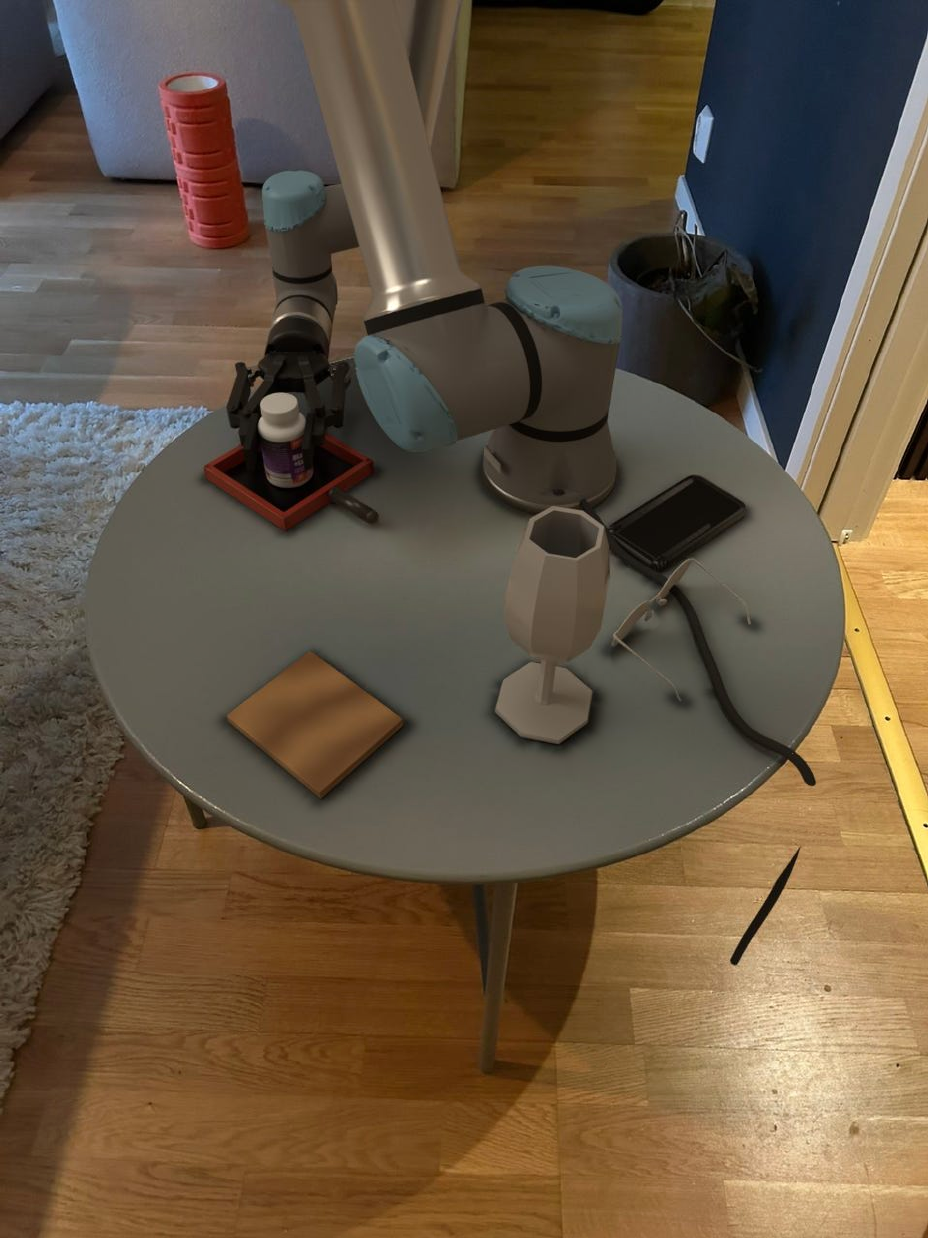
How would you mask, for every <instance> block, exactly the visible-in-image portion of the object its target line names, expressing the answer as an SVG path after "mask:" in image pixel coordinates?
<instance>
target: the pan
mask: <svg viewBox="0 0 928 1238" xmlns="http://www.w3.org/2000/svg"><path fill="white" fill-rule="evenodd" d="M243 447H244V446H241V444H238V445H237V446H235V447H234V448H231V449H230V450H229V451H227V452H225V453H223V454H222V455H220V456H219V457H216V458H215V459H213V460H211V461H210V462H207V463H206V464H204V465H203V466H202V468H203V473H204V476H205V479H206V480H208V481H209V482H210V483H212V484H214V485H215V486H216V487H218V488H219V489H221V490H223V491H224V492H225V493H226V494H228V495H230V496H232V497H233V498H234V499H236V500H237V501H239V502H241V504H243V505H245V506H246V507H248V508H249V509H251V510H252V511H254V512H256V513H257V514H259V516H261V517H263V518H265V519H266V520H268V521H270V522H271V523H272V524H273V525H275V526H277V527H278V528H280V529H281V530H283V531H284V532H287V531H288V530H290V529H291V528H293V527H294V526H296V525H297V524H299V523H300V522H302V521H303V520H305V519H306V518H308V517H310V516H311V515H312V514H313V513H315V512H317V511H318V510H320V509H321V508H323V507H324V506H326V505H328V504H329V503H330V502H333V503H335V504H336V505H338V506H339V507H341V508H343V509H344V510H346V511H348V512H349V513H350V514H353V515H354V516H355V517H357V518H359V519H360V520H362V521H364V522H365V523H367V524H369V525H374V524H376V523H377V522H378V521H379V519H380V515H379V512H378V511H377V510H376V509H374V508H373V507H371V506H369V505H368V504H365V503H364V502H363V501H361V500H359V499H358V498H356V497H354V496H353V495H352V494H350V493H348V492H347V491H348V490H350V489H351V488H353V487H355V486H356V485H357V484H359V483H360V482H361V481H363V480H366V478H368V477H370V476H371V475H373V474H374V473H375V465H374V463H375V462H374V459H372V458H370V457H369V456H367V455H365V454H364V453H362V452H361V451H358V450H357V449H355V448H353V447H351V446H350V445H348V444H346V443H345V442H342V441H341V440H339V439H337V438H336V437H334V436H332V435H331V434H329V433H328V432H326V436H325V443H324V444H323V445H322V446H315V449H314V456H313V463H312V464H313V475H312V477H311V479H310V480H309V481H308V482H306V483H305V484H303V485H301V486H298V487H293V488H282V487H277V486H275V485H273V484H272V483H270V482H269V480H268V479H267V476H266V472H265V466H264V461H263V455H262V450H261V444H260V445H259V450H258V455H257V459H256V464H255V469H254V470H247V467H246V462H245V457H244V452H243Z"/></svg>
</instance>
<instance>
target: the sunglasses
mask: <svg viewBox="0 0 928 1238" xmlns="http://www.w3.org/2000/svg"><path fill="white" fill-rule="evenodd" d="M692 562H694V563H695V564H696V565H698V566H699V567H700V568H702V570H704V571H705V572H706V573H708V574H709V575H710V576H711V577H712V578H713V579H715V580H716V581H717V582H719V583H720V584H721V585H722V586H723V587H724V588H725V589H727V590H728V591H729V592H731V593H732V595H733V596H734V597H736V598H737V599H738V600H739V601H740V602H741V603H742V604H743V606H744V607H745V611H746V617H747V624H748V625H752V622H751V617H750V616H751V615H750V612H749V608H748V605H747V603H746V602H745V601H744V599H742V598H741V597H740V596H739V595H737V593H735V592H734V591H732V590H731V589H730V588H729V587H728V586H726V585H725V584H724V583H723V582H722V581H721V580H720V579H719V578H717V577H716V576H715V575H714V574H713V573H712V572H710V570H709V569H707V568H706V567H705V566H704V565H702V564H701V562H699V561H698V560H697V559H695V558H693V557H691V558H688V559H685V560H684V561H683V562H682V563H681V564H680V565H679V566H678V567H677V568H676V569H675V570H674V571H673V572H672V573H671V575H670V576H669V577H668V578H667V579H668V580H667V582H666V583H665V585H664V587H663V586H662V588H661V590H659V592H658V593H657V594H656V595H655V596H654V597H652V599H650V600H644V601H642V602H641V603H640V604H638V605H637V606H636V607H635V608H634V609H632V610H631V612H630V613H629V615H627V617H626V618H625V619H624V621H623V622H622V624H621V625H620V626H619V628H618V629H617V630H616V631H615V632H614V633H613V635H612V637H613V639H612V641H611V647H612V648H613V647H615V646H617V645H618V644H620V645H621V646H623V647H624V648H626V649H627V650H628V651H629V652H631V653H632V654H633V655H634V656H635V657H637V658H638V659H639V660H641V661H642V662H643V663H645V664H646V665H648V667H650V668H651V669H652V670H653V671H655V672H656V673H657V674H658V675H659V676H660V677H661V678H662V679H663V680H665V681H666V682H668V683H669V684H670V686H672V688H673V689H674V692H675V695H676V697H677V699H678V701H680V702H682V699H681V698H680V697H681V696H679V692H678V690H677V688H676V686H675V685H674V684H673V683H672V681H670V679H668V678H667V677H666V676H664V675H663V674H662V673H661V672H660V671H658V670H656V669H655V668H654V667H653V666H652V665H651V664H650V663H648V662H647V661H646V660H644V658H642V657H641V656H640V655H639V654H637V653H636V652H635V651H634V650H633V649H632V648H630V646H628V645H627V644H626V643H625V642H624V641H622V640H623V639H624V638H625V637H626V636H627V635H628V634H629V632H631V630H632V629H633V628H634V627H635V626H636V624H637V623H638V622H639V621H640V619H641V618H642V617H643V616H644V615H645V614H646V615H645V617H644V619H643V620H644V622H649V621H650V619H651V618H652V617H653V615H654V609H652V608H651V609H650V610H649V609H648V608H649V607H650V605H651V603H652V602H653V601H654V600H655V603H657V604H658V605H659V606H665V605H666V604H667V602H668V601H667V599H665V598H667V596H668V595H669V594H671V593H670V592H669V590H670V589H671V587H672V586H673V585H676V586H677V585H678V583H679V582H681V579H682V578H683V577H684V575H685V573H686V572H687V570H688V569H689V567H690V565H691V564H692Z"/></svg>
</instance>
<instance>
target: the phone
mask: <svg viewBox="0 0 928 1238" xmlns="http://www.w3.org/2000/svg"><path fill="white" fill-rule="evenodd" d="M745 510H746V503H745V502H744V501H743V500H741V499H739V498H738V497H736V496H735V495H733V494H732V493H729V491H726V490H725V489H724V488H721V487H720V486H718V485H717V484H715V483H714V482H712V481H710V480H708V478H705V477H703V476H702V475H699V474H690V475H688V476H686V477H685V478H683V479H681V480H680V481H678V482H676V483H675V484H673V485H672V486H670V487H669V488H667V489H665V490H664V491H662V492H660V493H659V494H657V495H656V496H654V497H652V498H650V499H649V500H647V501H646V502H644V503H643V504H641V505H639V506H637V508H635V509H633V510H631V511H629V513H627V514H625V515H623V516H622V517H619V519H617V520H615V521H613V522H612V523H611V524H610V525H609V526H608V528H607V529H608V530H609V532H610V534H611V535H612V536H613V538H614V539H615V541H616V542H617V543H618V545H619V546H620V547H621V548H622V549H623V550H624V551H626V552H627V553H628V554H629V555H630V556H632V557H633V558H635V559H636V560H638V561H639V562H641V563H643V564H644V565H646V566H648V567H650V568H651V569H653V570H655V571H657V572H658V573H661V572H664V571H666V570H667V569H669V568H671V566H673V565H675V564H676V563H678V562H679V561H680V560H682V559H684V558H685V557H687V556H688V555H689V554H691V553H692V552H694V551H695V550H697V549H699V548H700V547H701V546H702V545H705V543H707V542H708V541H710V540H711V539H713V538H714V537H716V536H717V535H718V534H720V533H722V532H723V531H725V530H726V529H728V528H729V527H730V526H731V525H733V524H735V523H736V522H738V521H739V520H741V519H742V518H743V516H744V513H745Z"/></svg>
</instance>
